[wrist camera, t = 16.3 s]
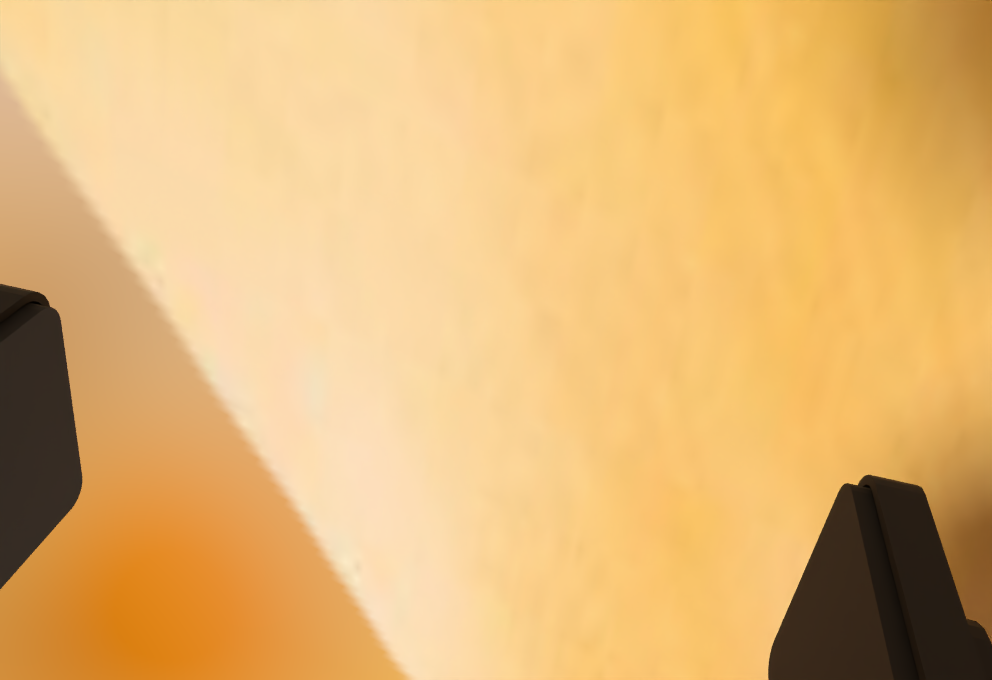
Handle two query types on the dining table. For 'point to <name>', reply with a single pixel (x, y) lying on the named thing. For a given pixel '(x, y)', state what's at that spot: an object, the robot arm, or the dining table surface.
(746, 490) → the dining table surface
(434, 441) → the dining table surface
